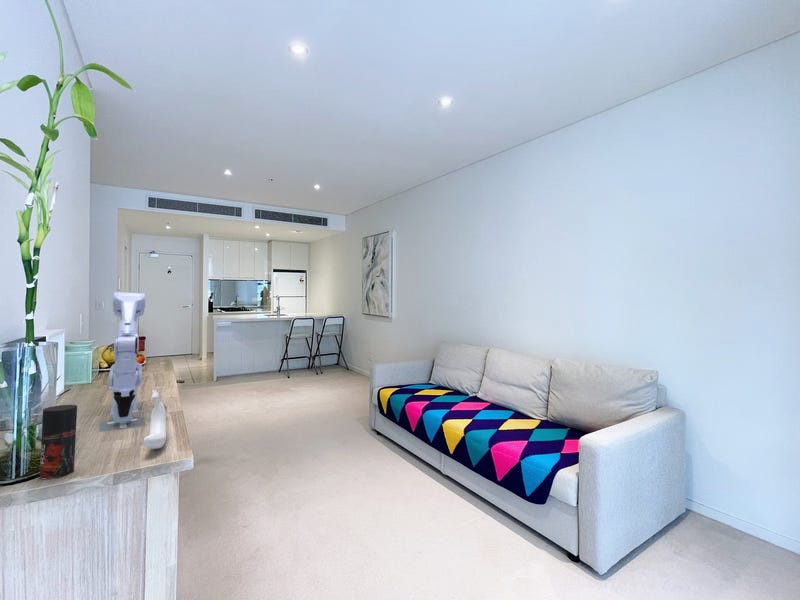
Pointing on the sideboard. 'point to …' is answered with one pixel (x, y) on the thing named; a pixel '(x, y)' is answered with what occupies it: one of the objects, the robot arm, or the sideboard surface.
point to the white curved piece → (156, 425)
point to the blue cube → (121, 419)
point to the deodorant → (58, 441)
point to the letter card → (121, 424)
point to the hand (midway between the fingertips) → (123, 414)
